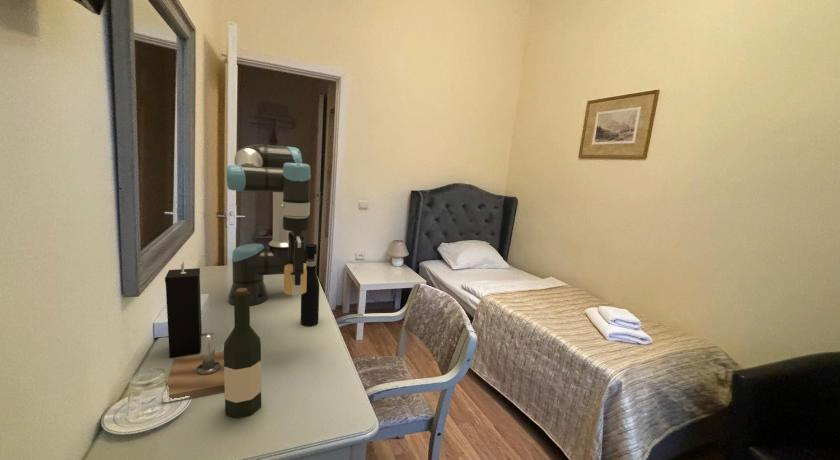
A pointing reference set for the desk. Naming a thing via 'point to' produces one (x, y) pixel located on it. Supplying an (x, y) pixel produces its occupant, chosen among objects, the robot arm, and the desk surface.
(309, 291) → the wine bottle
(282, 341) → the desk surface
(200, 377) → the walnut board
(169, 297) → the black pillar candle
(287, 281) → the ochre cap
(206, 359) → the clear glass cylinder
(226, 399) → the labelled green bottle
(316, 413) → the desk surface
